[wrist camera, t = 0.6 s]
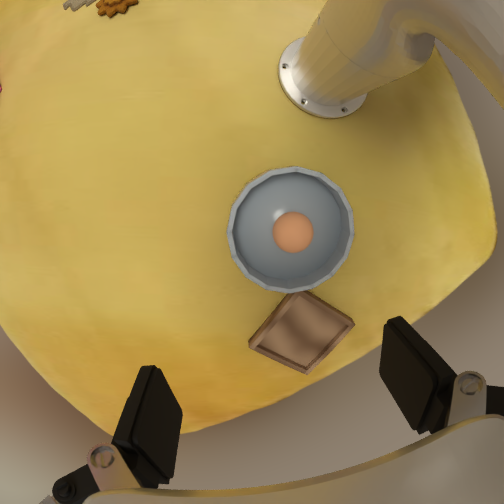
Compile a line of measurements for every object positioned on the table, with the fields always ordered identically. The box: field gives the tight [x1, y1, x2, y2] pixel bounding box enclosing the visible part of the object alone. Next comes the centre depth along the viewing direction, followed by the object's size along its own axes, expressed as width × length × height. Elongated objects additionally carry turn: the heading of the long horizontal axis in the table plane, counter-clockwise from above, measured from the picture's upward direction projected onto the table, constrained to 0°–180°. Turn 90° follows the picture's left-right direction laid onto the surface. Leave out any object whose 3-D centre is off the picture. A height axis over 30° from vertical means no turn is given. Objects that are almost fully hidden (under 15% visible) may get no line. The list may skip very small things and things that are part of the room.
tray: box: [248, 290, 355, 375], centre depth 41 cm, size 12×12×2 cm
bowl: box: [227, 166, 354, 294], centre depth 35 cm, size 16×16×4 cm
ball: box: [272, 212, 314, 253], centre depth 33 cm, size 5×5×5 cm
